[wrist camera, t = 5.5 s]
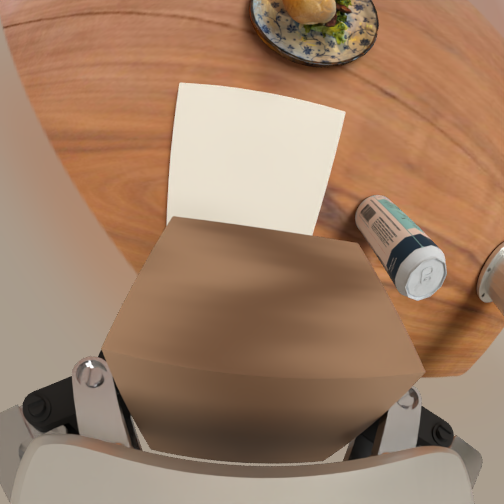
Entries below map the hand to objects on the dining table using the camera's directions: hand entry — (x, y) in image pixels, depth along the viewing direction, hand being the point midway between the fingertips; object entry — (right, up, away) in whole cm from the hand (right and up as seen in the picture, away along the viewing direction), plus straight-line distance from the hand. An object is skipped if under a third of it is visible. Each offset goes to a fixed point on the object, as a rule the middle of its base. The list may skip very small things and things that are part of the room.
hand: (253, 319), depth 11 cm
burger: (+6, +25, +7) cm, 26 cm away
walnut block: (0, +1, +1) cm, 1 cm away
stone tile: (0, +11, +15) cm, 18 cm away
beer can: (+13, +7, +17) cm, 23 cm away
